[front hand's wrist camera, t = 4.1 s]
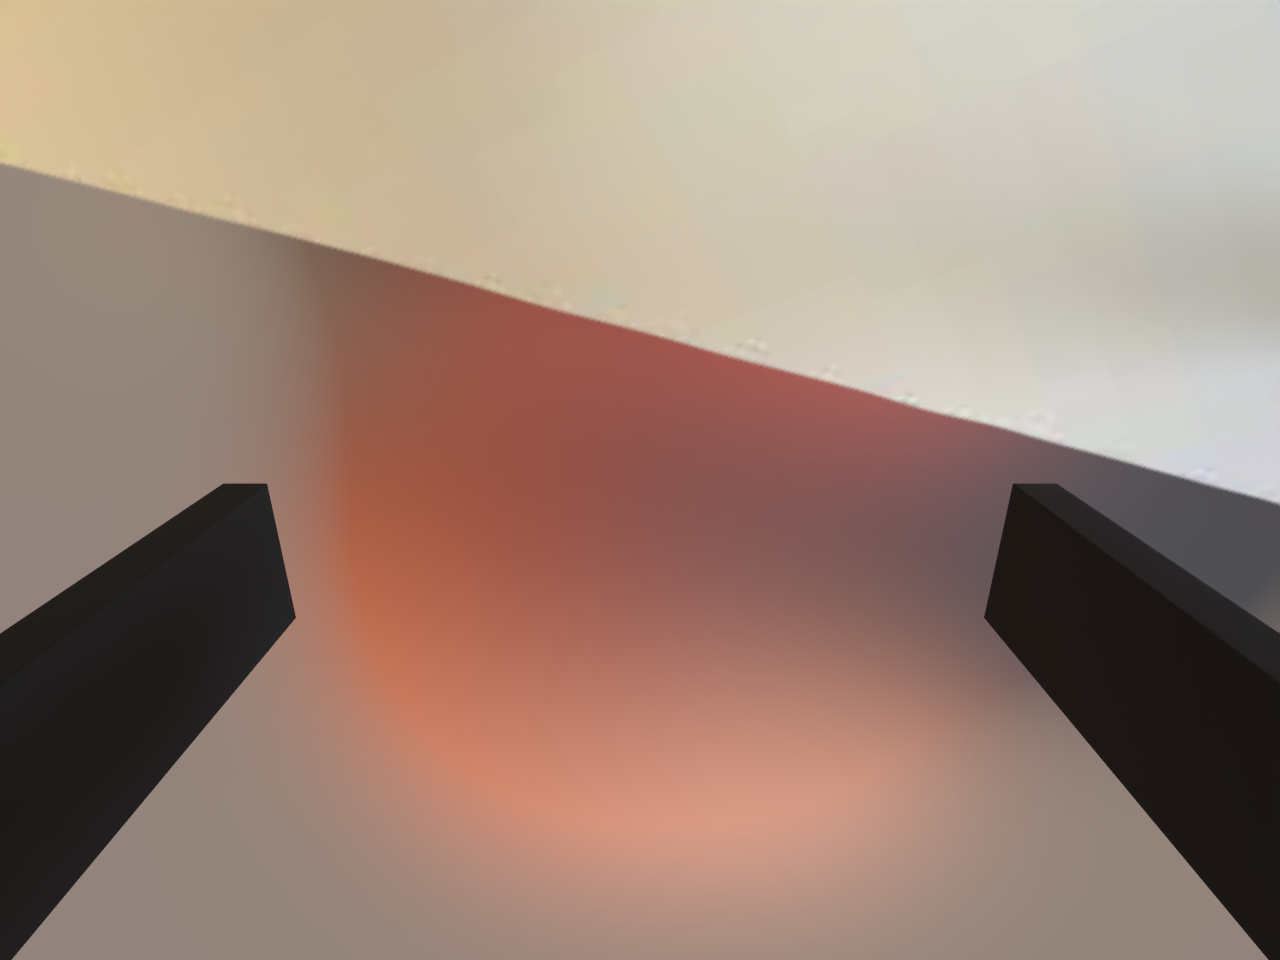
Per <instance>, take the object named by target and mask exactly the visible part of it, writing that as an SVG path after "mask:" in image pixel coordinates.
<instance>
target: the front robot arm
mask: <svg viewBox="0 0 1280 960" xmlns="http://www.w3.org/2000/svg"><path fill="white" fill-rule="evenodd" d="M295 618H296V616H295V612H294V607H293V602H292V598H291V593H290V588H289V584H288V579H287V575H286V570H285V565H284V561H283V556H282V551H281V547H280V542H279V538H278V533H277V528H276V524H275V519H274V514H273V509H272V505H271V500H270V496H269V491H268V486H267V484H222V485H221V486H219V487H218V488H216V489H215V490H213V491H212V492H210V493H209V494H207V495H206V496H204V497H203V498H201V499H200V500H198V501H197V502H195V503H194V504H192V505H191V506H189V507H188V508H186V509H185V510H183V511H182V512H181V513H179V514H178V515H176V516H175V517H173V518H172V519H170V520H169V521H167V522H166V523H164V524H163V525H161V526H160V527H158V528H157V529H155V530H154V531H152V532H151V533H149V534H148V535H146V536H145V537H143V538H142V539H140V540H139V541H137V542H136V543H134V544H133V545H131V546H130V547H128V548H127V549H125V550H124V551H123V552H121V553H120V554H118V555H117V556H115V557H114V558H112V559H111V560H109V561H108V562H106V563H105V564H103V565H102V566H100V567H99V568H97V569H96V570H94V571H93V572H91V573H90V574H88V575H87V576H85V577H84V578H82V579H81V580H79V581H78V582H76V583H75V584H73V585H72V586H70V587H69V588H67V589H66V590H64V591H63V592H62V593H60V594H59V595H57V596H56V597H54V598H53V599H51V600H50V601H48V602H47V603H45V604H44V605H42V606H41V607H39V608H38V609H36V610H35V611H33V612H32V613H30V614H29V615H27V616H26V617H24V618H23V619H21V620H20V621H18V622H17V623H15V624H14V625H12V626H11V627H9V628H8V629H7V630H5V631H4V632H2V633H0V960H12V958H13V957H14V956H15V955H16V954H17V952H18V951H19V950H20V949H21V948H22V946H23V945H24V944H25V943H26V942H27V940H28V939H29V938H30V937H31V936H32V934H33V933H34V932H35V931H36V930H37V928H38V927H39V926H40V925H41V924H42V922H43V921H44V920H45V919H46V918H47V916H48V915H49V914H50V913H51V912H52V910H53V909H54V908H55V907H56V906H57V904H58V903H59V902H60V901H61V900H62V898H63V897H64V896H65V895H66V893H67V892H68V891H69V890H70V889H71V887H72V886H73V885H74V884H75V883H76V881H77V880H78V879H79V878H80V877H81V875H82V874H83V873H84V872H85V871H86V869H87V868H88V867H89V866H90V865H91V863H92V862H93V861H94V860H95V859H96V857H97V856H98V855H99V854H100V853H101V851H102V850H103V849H104V848H105V847H106V845H107V844H108V843H109V842H110V841H111V839H112V838H113V837H114V836H115V835H116V833H117V832H118V831H119V830H120V829H121V827H122V826H123V825H124V824H125V823H126V821H127V820H128V819H129V818H130V817H131V815H132V814H133V813H134V812H135V811H136V809H137V808H138V807H139V806H140V805H141V803H142V802H143V801H144V800H145V798H146V797H147V796H148V795H149V794H150V792H151V791H152V790H153V789H154V788H155V786H156V785H157V784H158V783H159V782H160V780H161V779H162V778H163V777H164V776H165V774H166V773H167V772H168V771H169V770H170V768H171V767H172V766H173V765H174V764H175V762H176V761H177V760H178V759H179V758H180V756H181V755H182V754H183V753H184V752H185V750H186V749H187V748H188V747H189V746H190V744H191V743H192V742H193V741H194V740H195V738H196V737H197V736H198V735H199V733H200V732H201V731H202V730H203V729H204V728H205V726H206V725H207V724H208V723H209V721H210V720H211V719H212V718H213V717H214V715H215V714H216V713H217V712H218V711H219V709H220V708H221V707H222V706H223V705H224V703H225V702H226V701H227V700H228V699H229V697H230V696H231V695H232V694H233V693H234V691H235V690H236V689H237V688H238V687H239V685H240V684H241V683H242V682H243V681H244V679H245V678H246V677H247V676H248V675H249V673H250V672H251V671H252V670H253V669H254V667H255V666H256V665H257V664H258V663H259V661H260V660H261V659H262V658H263V657H264V655H265V654H266V653H267V652H268V651H269V649H270V648H271V647H272V646H273V645H274V643H275V642H276V641H277V640H278V638H279V637H280V636H281V635H282V634H283V632H284V631H285V630H286V629H287V628H288V626H289V625H290V624H291V623H292V622H293V620H294V619H295ZM984 618H985V619H986V620H987V622H988V623H989V624H990V625H991V626H992V628H993V629H994V630H995V631H996V632H997V634H998V635H999V636H1000V637H1001V639H1002V640H1003V641H1004V642H1005V643H1006V645H1007V646H1008V647H1009V648H1010V649H1011V651H1012V652H1013V653H1014V654H1015V655H1016V657H1017V658H1018V659H1019V660H1020V661H1021V663H1022V664H1023V665H1024V666H1025V667H1026V669H1027V670H1028V671H1029V672H1030V673H1031V675H1032V676H1033V677H1034V678H1035V679H1036V681H1037V682H1038V683H1039V684H1040V685H1041V687H1042V688H1043V689H1044V690H1045V691H1046V693H1047V694H1048V695H1049V696H1050V697H1051V699H1052V700H1053V701H1054V702H1055V703H1056V705H1057V706H1058V707H1059V708H1060V709H1061V711H1062V712H1063V713H1064V714H1065V715H1066V717H1067V718H1068V719H1069V720H1070V722H1071V723H1072V724H1073V725H1074V726H1075V728H1076V729H1077V730H1078V731H1079V732H1080V733H1081V735H1082V736H1083V737H1084V738H1085V740H1086V741H1087V742H1088V743H1089V744H1090V746H1091V747H1092V748H1093V749H1094V750H1095V752H1096V753H1097V754H1098V755H1099V756H1100V758H1101V759H1102V760H1103V761H1104V762H1105V764H1106V765H1107V766H1108V767H1109V768H1110V770H1111V771H1112V772H1113V773H1114V774H1115V776H1116V777H1117V778H1118V779H1119V780H1120V782H1121V783H1122V784H1123V785H1124V786H1125V788H1126V789H1127V790H1128V791H1129V792H1130V794H1131V795H1132V796H1133V797H1134V798H1135V800H1136V801H1137V802H1138V803H1139V804H1140V806H1141V807H1142V808H1143V809H1144V811H1145V812H1146V813H1147V814H1148V815H1149V817H1150V818H1151V819H1152V820H1153V821H1154V823H1155V824H1156V825H1157V826H1158V827H1159V829H1160V830H1161V831H1162V832H1163V833H1164V835H1165V836H1166V837H1167V838H1168V839H1169V841H1170V842H1171V843H1172V844H1173V845H1174V847H1175V848H1176V849H1177V850H1178V851H1179V853H1180V854H1181V855H1182V856H1183V857H1184V859H1185V860H1186V861H1187V862H1188V863H1189V865H1190V866H1191V867H1192V868H1193V869H1194V871H1195V872H1196V873H1197V874H1198V875H1199V877H1200V878H1201V879H1202V880H1203V881H1204V883H1205V884H1206V885H1207V886H1208V888H1209V889H1210V890H1211V891H1212V892H1213V894H1214V895H1215V896H1216V897H1217V898H1218V900H1219V901H1220V902H1221V903H1222V904H1223V906H1224V907H1225V908H1226V909H1227V910H1228V912H1229V913H1230V914H1231V915H1232V916H1233V918H1234V919H1235V920H1236V921H1237V922H1238V924H1239V925H1240V926H1241V927H1242V928H1243V930H1244V931H1245V932H1246V933H1247V934H1248V936H1249V937H1250V938H1251V939H1252V940H1253V942H1254V943H1255V944H1256V945H1257V946H1258V948H1259V949H1260V950H1261V951H1262V952H1263V954H1264V955H1265V956H1266V957H1267V958H1268V960H1280V633H1279V632H1277V631H1275V630H1273V629H1272V628H1271V627H1269V626H1268V625H1266V624H1265V623H1263V622H1262V621H1260V620H1259V619H1257V618H1256V617H1254V616H1253V615H1251V614H1250V613H1248V612H1247V611H1245V610H1244V609H1242V608H1241V607H1239V606H1238V605H1236V604H1235V603H1233V602H1232V601H1230V600H1229V599H1227V598H1226V597H1224V596H1223V595H1221V594H1220V593H1219V592H1217V591H1215V590H1214V589H1213V588H1211V587H1210V586H1208V585H1207V584H1205V583H1204V582H1202V581H1201V580H1199V579H1198V578H1196V577H1195V576H1193V575H1192V574H1190V573H1189V572H1187V571H1186V570H1184V569H1183V568H1181V567H1180V566H1178V565H1177V564H1175V563H1174V562H1172V561H1171V560H1169V559H1168V558H1166V557H1165V556H1163V555H1162V554H1160V553H1159V552H1157V551H1156V550H1155V549H1153V548H1152V547H1150V546H1149V545H1147V544H1146V543H1144V542H1143V541H1141V540H1140V539H1138V538H1137V537H1135V536H1134V535H1132V534H1131V533H1129V532H1128V531H1126V530H1125V529H1123V528H1122V527H1120V526H1119V525H1117V524H1116V523H1114V522H1113V521H1111V520H1110V519H1108V518H1107V517H1105V516H1104V515H1102V514H1101V513H1099V512H1098V511H1097V510H1095V509H1094V508H1092V507H1091V506H1089V505H1088V504H1086V503H1085V502H1083V501H1082V500H1080V499H1079V498H1077V497H1076V496H1074V495H1073V494H1071V493H1070V492H1068V491H1067V490H1065V489H1064V488H1062V487H1061V486H1059V485H1058V484H1013V486H1012V491H1011V496H1010V500H1009V505H1008V509H1007V514H1006V519H1005V523H1004V528H1003V533H1002V537H1001V542H1000V547H999V551H998V556H997V561H996V565H995V570H994V574H993V579H992V584H991V588H990V593H989V598H988V602H987V607H986V612H985V616H984Z"/></svg>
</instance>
